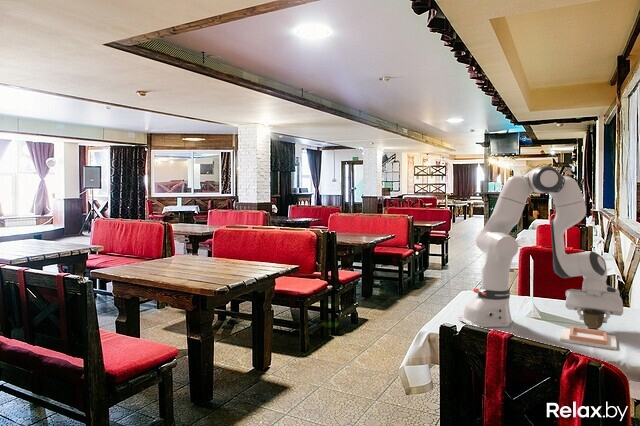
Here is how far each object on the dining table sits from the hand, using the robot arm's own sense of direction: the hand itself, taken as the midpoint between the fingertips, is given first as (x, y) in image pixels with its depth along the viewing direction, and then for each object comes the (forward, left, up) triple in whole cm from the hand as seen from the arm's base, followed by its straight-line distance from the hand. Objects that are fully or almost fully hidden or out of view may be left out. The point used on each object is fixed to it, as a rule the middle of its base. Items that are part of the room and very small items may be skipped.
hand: (593, 320), depth 183 cm
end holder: (-9, -7, -4) cm, 12 cm away
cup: (0, 0, -5) cm, 5 cm away
